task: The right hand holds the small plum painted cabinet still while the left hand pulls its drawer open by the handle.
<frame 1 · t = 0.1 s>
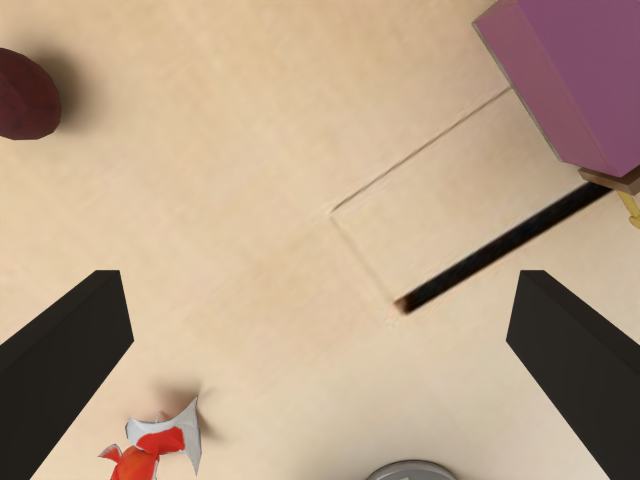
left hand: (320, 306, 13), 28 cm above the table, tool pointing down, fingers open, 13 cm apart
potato: (40, 97, 37), on the table
drawer: (610, 128, 34), point 4 cm above the table, slide at 1.6 cm
cabinet: (548, 72, 36), on the table
fish: (165, 419, 51), on the table
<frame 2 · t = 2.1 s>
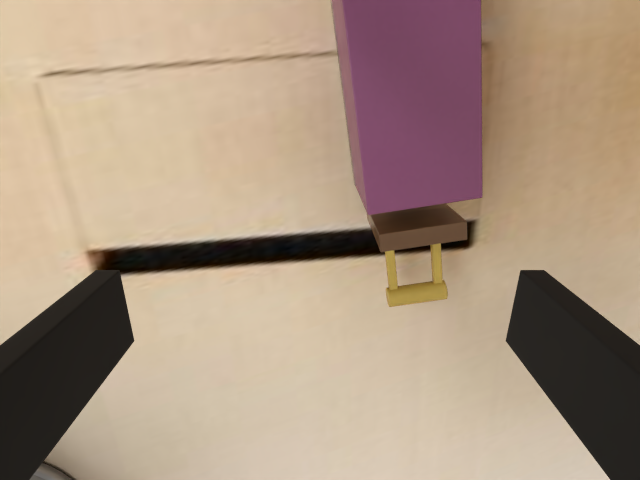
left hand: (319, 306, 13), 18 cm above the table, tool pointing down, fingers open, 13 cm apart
drawer: (406, 162, 25), point 4 cm above the table, slide at 1.6 cm
cabinet: (386, 62, 27), on the table
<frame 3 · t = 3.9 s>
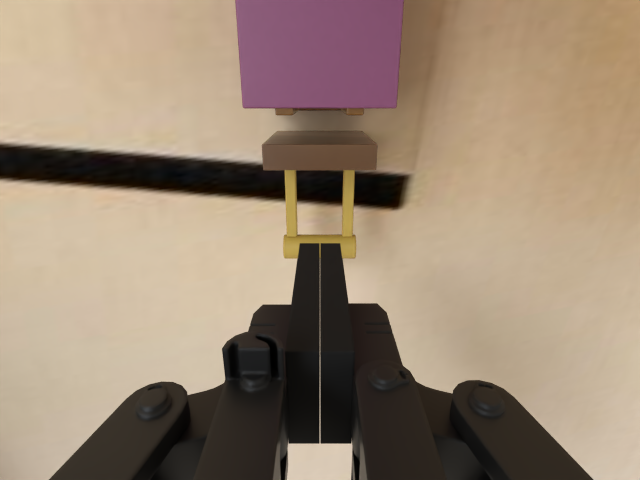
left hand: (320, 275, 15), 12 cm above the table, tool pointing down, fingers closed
drawer: (319, 67, 19), point 4 cm above the table, slide at 1.6 cm
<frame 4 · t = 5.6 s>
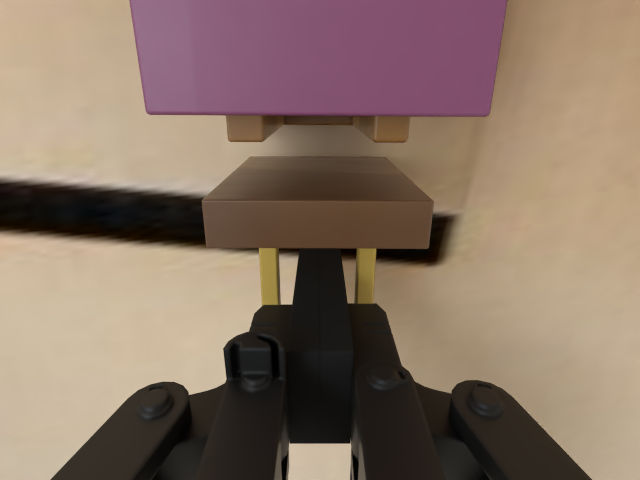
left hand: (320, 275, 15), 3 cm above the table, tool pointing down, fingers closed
drawer: (318, 50, 11), point 4 cm above the table, slide at 1.9 cm, touching left hand
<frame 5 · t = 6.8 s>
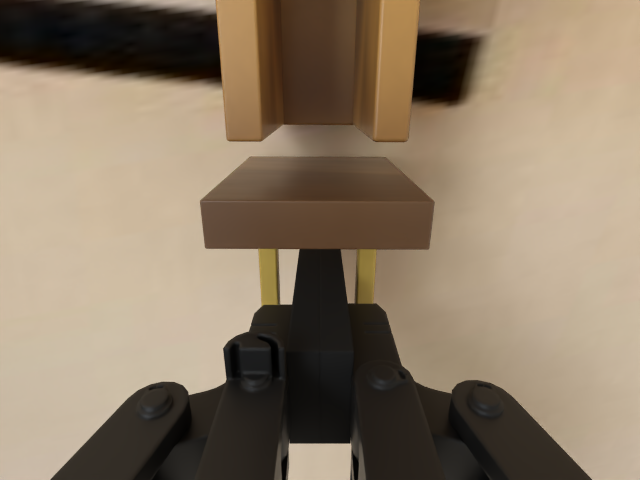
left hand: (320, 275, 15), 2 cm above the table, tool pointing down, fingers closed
drawer: (318, 49, 10), point 4 cm above the table, slide at 8.8 cm, touching left hand
when the right hand's fingers open (3 cm above the table, at t = 8.5 s): cabinet stays where it is, on the table.
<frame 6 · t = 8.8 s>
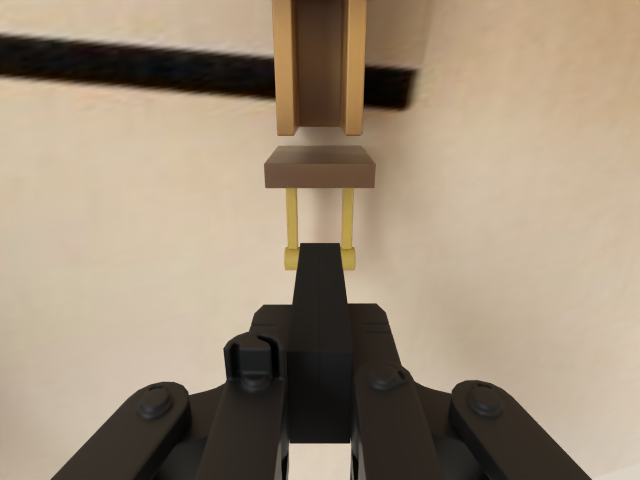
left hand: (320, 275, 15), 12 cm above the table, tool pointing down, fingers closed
drawer: (319, 87, 20), point 4 cm above the table, slide at 8.9 cm
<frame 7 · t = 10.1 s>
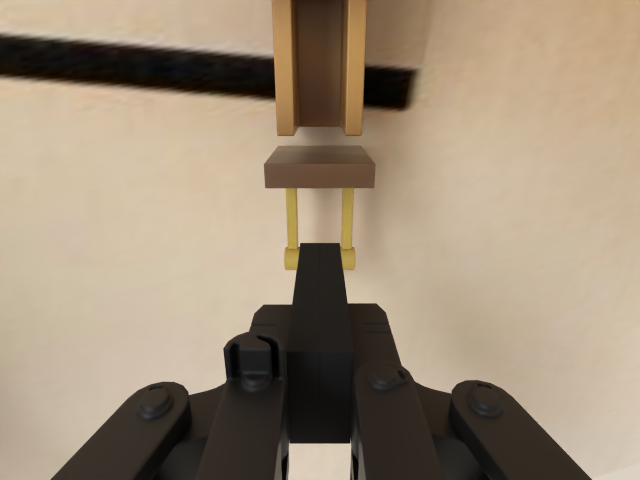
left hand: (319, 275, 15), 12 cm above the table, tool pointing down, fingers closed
drawer: (319, 87, 20), point 4 cm above the table, slide at 8.9 cm
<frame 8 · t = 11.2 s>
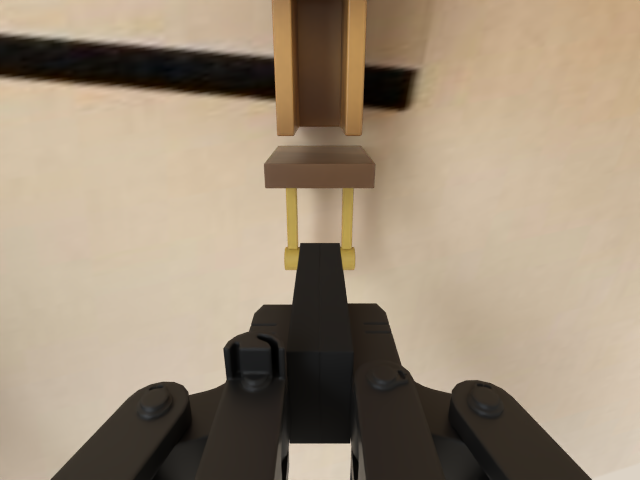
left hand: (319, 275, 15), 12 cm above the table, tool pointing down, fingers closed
drawer: (319, 87, 20), point 4 cm above the table, slide at 8.9 cm
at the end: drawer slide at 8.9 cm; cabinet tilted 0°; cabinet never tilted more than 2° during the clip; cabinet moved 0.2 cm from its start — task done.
